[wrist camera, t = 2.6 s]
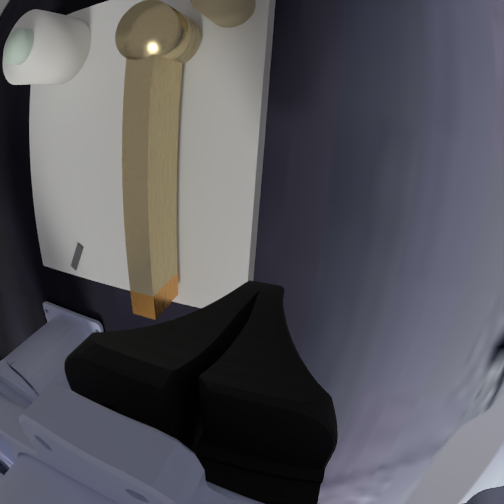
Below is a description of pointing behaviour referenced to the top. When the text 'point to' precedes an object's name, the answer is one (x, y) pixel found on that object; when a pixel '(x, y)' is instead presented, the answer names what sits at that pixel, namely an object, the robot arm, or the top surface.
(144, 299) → the adjusting lever
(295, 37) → the top surface
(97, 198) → the base
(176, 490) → the robot arm
